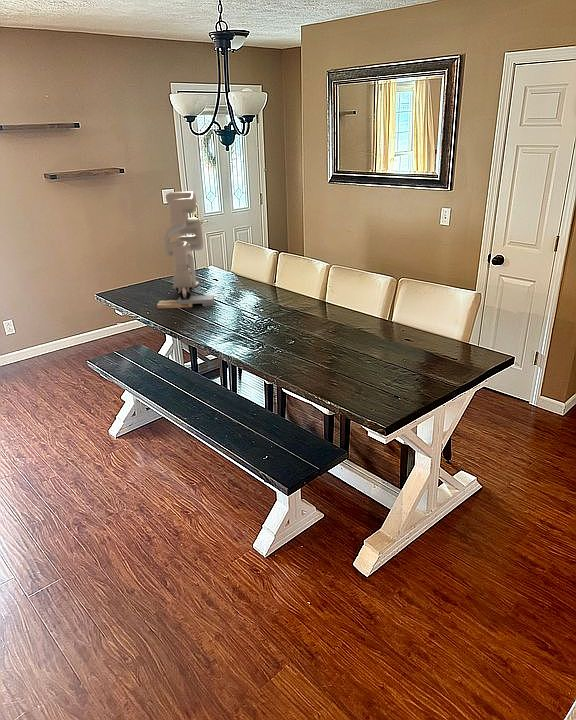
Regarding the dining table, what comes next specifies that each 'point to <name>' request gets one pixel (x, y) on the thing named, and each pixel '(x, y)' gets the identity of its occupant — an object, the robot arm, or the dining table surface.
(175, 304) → the link
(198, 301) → the link
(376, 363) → the dining table surface
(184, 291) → the pin
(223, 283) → the dining table surface
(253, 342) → the dining table surface
